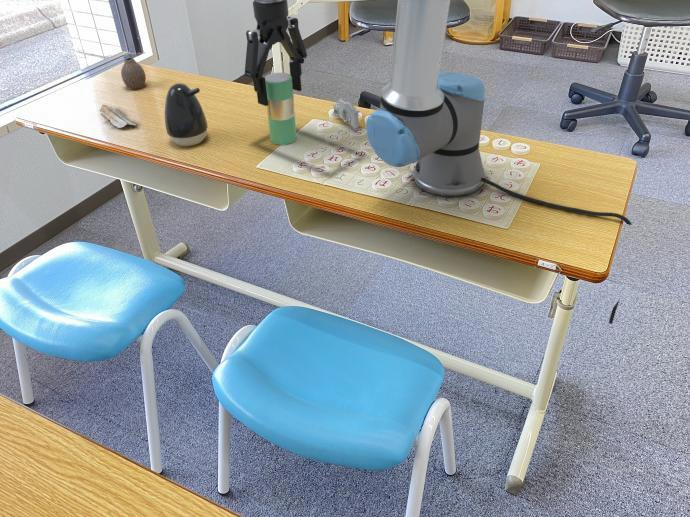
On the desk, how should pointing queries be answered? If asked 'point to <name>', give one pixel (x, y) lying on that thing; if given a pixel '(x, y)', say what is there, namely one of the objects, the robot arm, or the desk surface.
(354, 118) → the garden wall model
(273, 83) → the can
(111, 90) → the desk surface
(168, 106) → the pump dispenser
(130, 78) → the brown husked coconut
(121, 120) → the fossil
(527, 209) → the desk surface
